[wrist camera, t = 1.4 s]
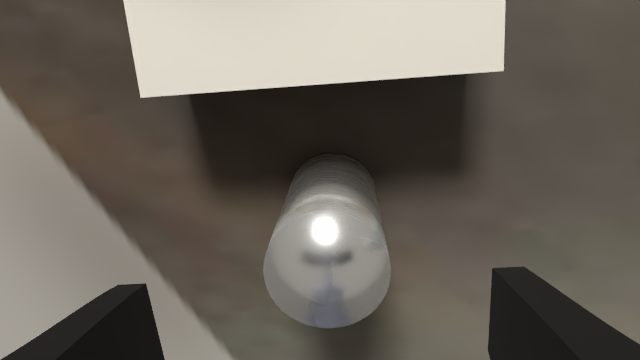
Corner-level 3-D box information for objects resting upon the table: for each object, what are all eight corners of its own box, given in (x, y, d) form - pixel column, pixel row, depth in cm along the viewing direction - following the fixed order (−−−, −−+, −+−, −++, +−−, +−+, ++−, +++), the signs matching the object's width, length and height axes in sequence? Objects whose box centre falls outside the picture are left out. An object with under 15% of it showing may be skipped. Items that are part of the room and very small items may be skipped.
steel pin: (377, 232, 21) (393, 325, 14) (293, 236, 21) (270, 330, 14) (373, 150, 20) (388, 208, 13) (285, 156, 20) (256, 216, 13)
